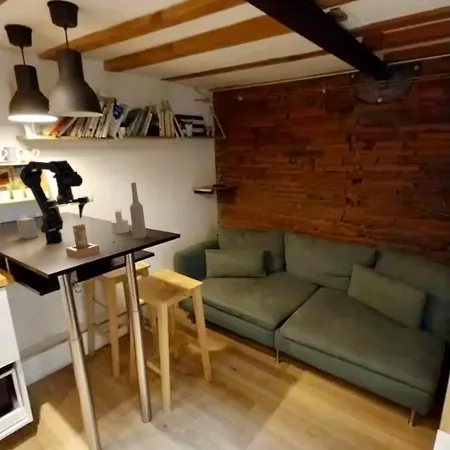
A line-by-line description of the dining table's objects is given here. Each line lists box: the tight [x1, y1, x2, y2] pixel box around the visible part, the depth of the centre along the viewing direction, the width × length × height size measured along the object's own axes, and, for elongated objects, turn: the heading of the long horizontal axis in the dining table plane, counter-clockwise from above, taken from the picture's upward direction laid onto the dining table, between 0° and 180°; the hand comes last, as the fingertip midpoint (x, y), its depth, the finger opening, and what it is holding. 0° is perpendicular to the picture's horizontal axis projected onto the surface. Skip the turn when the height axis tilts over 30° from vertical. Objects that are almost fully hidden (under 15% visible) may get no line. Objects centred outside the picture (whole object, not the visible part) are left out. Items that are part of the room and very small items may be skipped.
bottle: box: [129, 182, 147, 240], centre depth 170 cm, size 7×7×28 cm
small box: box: [16, 217, 39, 240], centre depth 186 cm, size 8×6×10 cm
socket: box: [65, 242, 101, 260], centre depth 150 cm, size 10×10×4 cm
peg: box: [72, 224, 89, 250], centre depth 149 cm, size 5×5×13 cm
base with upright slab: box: [110, 208, 130, 235], centre depth 186 cm, size 9×9×12 cm
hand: (70, 219), depth 161 cm, fingers open, 9 cm apart
